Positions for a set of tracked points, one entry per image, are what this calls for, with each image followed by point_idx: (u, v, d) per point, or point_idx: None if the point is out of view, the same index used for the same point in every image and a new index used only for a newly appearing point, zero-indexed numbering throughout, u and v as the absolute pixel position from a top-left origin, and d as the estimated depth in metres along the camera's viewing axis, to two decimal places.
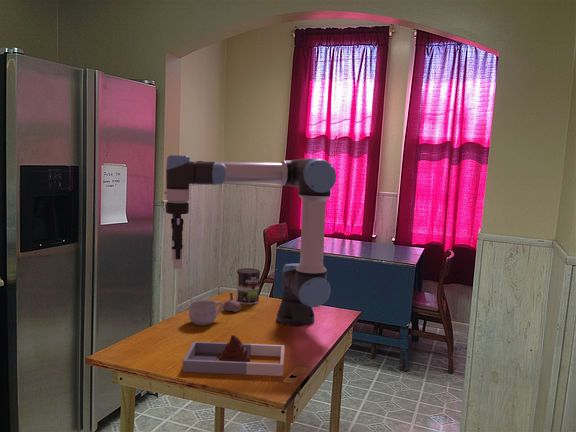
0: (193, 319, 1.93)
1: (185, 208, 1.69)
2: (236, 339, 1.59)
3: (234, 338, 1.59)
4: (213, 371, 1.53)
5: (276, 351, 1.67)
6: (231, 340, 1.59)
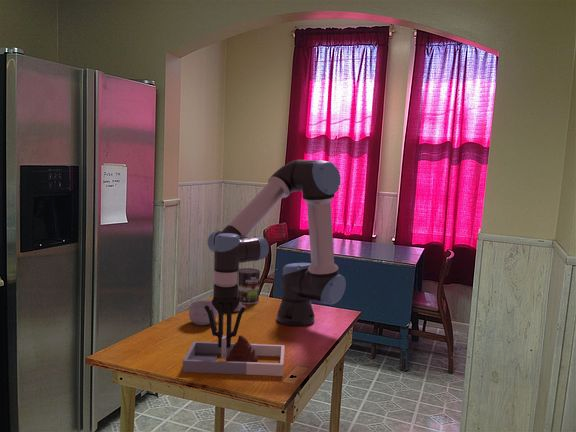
0: (193, 319, 1.93)
1: (215, 291, 1.56)
2: (244, 339, 1.59)
3: (242, 338, 1.59)
4: (213, 371, 1.53)
5: (276, 351, 1.67)
6: (239, 341, 1.58)
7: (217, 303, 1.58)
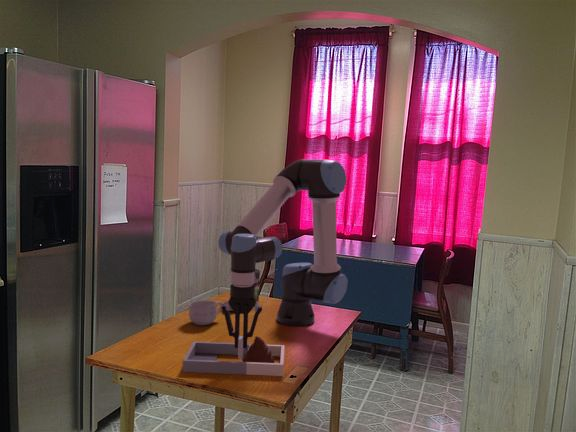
0: (193, 319, 1.93)
1: (232, 291, 1.56)
2: (260, 340, 1.59)
3: (258, 339, 1.59)
4: (213, 371, 1.53)
5: (276, 351, 1.67)
6: (256, 342, 1.58)
7: (234, 303, 1.57)
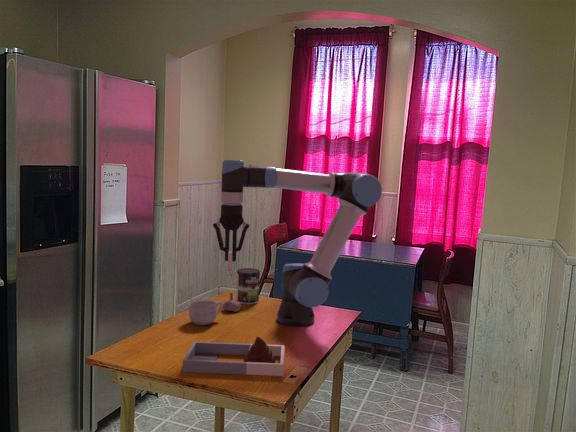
0: (193, 319, 1.93)
1: (222, 209, 1.76)
2: (261, 341, 1.59)
3: (259, 340, 1.58)
4: (213, 371, 1.53)
5: (276, 351, 1.67)
6: (257, 342, 1.58)
7: (224, 221, 1.78)
